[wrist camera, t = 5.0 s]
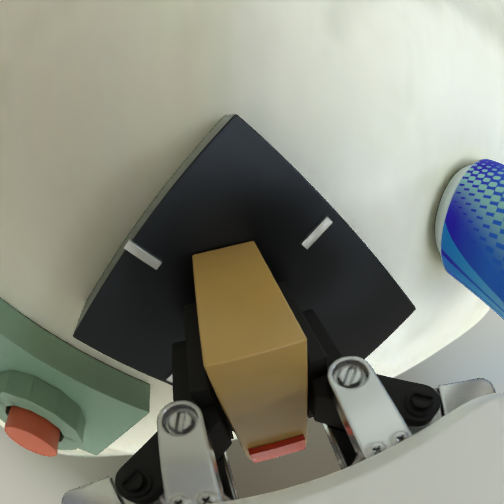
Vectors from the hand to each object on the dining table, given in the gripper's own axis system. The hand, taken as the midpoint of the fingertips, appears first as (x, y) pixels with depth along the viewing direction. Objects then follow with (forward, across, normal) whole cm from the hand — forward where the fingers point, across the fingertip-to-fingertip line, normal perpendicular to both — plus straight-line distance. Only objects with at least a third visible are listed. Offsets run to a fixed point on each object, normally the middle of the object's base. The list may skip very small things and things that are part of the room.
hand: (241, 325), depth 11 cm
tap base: (+3, -1, +2) cm, 4 cm away
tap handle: (+1, 0, 0) cm, 1 cm away
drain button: (0, +14, +5) cm, 15 cm away
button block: (+3, +14, +5) cm, 15 cm away
